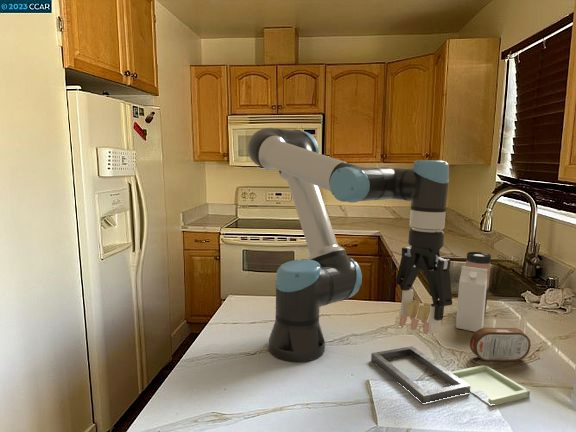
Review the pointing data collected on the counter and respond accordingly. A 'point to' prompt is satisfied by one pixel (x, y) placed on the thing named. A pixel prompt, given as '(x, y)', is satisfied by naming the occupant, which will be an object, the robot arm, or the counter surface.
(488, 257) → the travel mug
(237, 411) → the counter surface
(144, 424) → the counter surface
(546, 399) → the counter surface
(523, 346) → the tin
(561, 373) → the counter surface
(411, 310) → the ammunition
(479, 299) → the milk carton
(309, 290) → the robot arm
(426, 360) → the gray rectangular frame
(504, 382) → the tray pad
